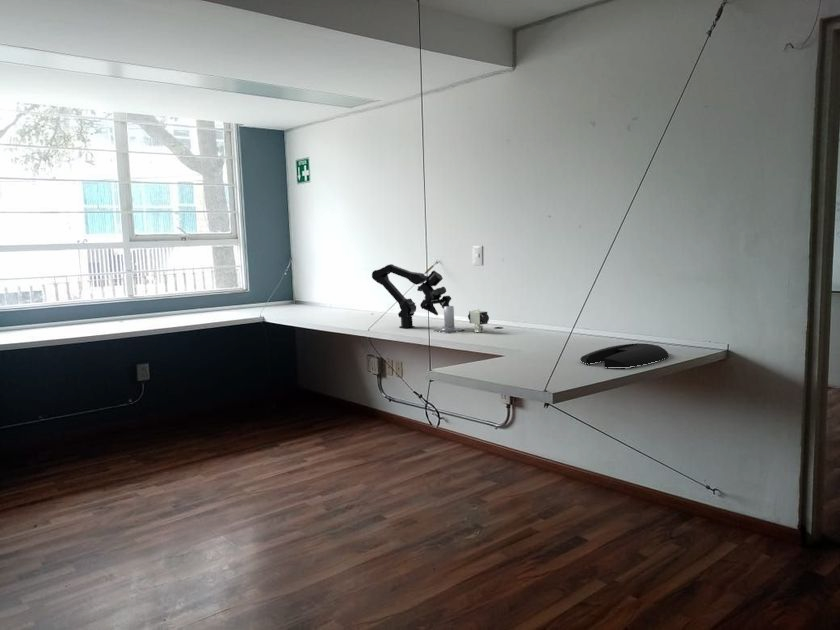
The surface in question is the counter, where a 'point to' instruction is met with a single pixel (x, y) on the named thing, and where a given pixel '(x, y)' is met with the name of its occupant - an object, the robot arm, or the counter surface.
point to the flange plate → (449, 330)
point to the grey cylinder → (449, 318)
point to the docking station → (626, 355)
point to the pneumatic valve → (478, 319)
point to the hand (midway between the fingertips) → (443, 313)
